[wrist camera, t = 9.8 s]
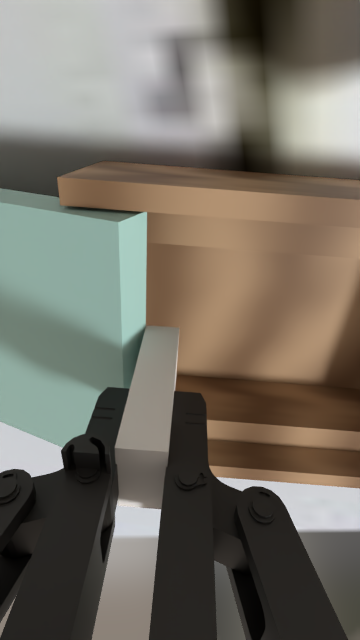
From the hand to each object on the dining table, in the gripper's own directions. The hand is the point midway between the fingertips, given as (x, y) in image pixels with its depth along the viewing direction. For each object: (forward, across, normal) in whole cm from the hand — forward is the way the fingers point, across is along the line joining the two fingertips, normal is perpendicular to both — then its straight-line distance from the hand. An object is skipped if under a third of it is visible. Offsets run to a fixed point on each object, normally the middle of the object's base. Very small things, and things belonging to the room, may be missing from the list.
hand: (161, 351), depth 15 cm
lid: (+3, -9, 0) cm, 9 cm away
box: (+5, +5, 0) cm, 8 cm away
